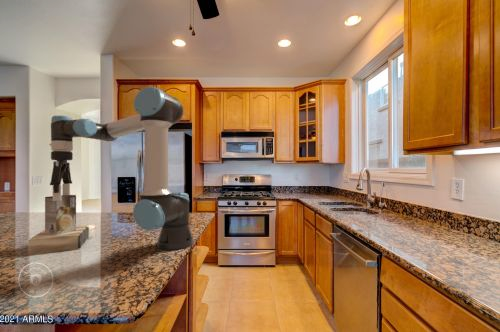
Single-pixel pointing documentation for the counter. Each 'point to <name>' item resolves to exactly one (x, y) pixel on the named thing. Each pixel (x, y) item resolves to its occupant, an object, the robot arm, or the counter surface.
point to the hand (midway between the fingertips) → (61, 199)
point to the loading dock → (58, 241)
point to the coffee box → (60, 215)
